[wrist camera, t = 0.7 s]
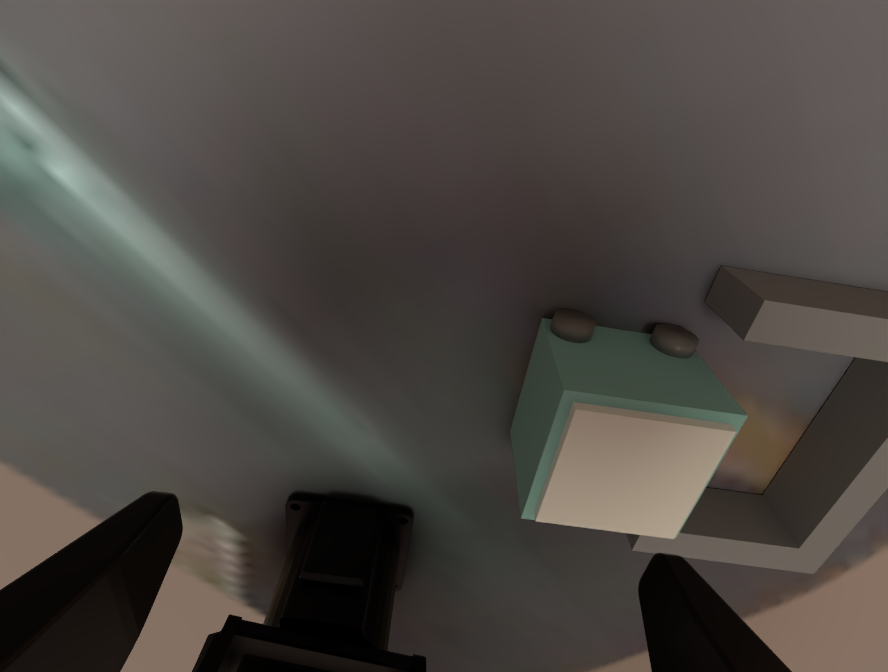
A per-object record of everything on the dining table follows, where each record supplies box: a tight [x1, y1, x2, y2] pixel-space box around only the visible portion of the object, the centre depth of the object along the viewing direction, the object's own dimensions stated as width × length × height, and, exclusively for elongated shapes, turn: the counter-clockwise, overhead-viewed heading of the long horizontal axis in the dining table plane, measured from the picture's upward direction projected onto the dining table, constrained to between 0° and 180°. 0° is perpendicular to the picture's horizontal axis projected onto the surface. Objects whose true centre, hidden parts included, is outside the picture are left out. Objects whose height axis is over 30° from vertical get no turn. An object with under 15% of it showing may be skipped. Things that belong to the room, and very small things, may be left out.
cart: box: [510, 309, 748, 539], centre depth 19 cm, size 7×6×5 cm
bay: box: [626, 266, 888, 574], centre depth 20 cm, size 12×8×3 cm
